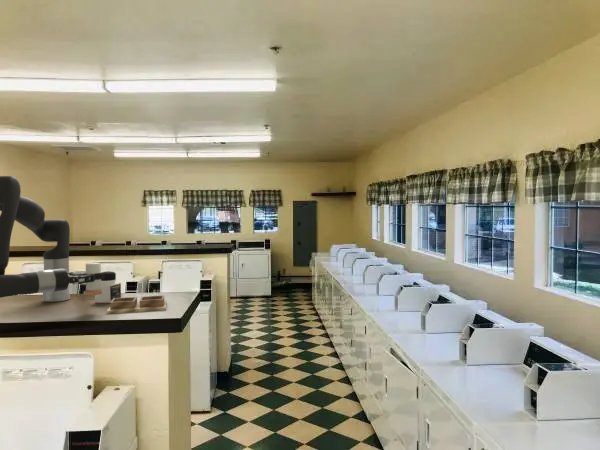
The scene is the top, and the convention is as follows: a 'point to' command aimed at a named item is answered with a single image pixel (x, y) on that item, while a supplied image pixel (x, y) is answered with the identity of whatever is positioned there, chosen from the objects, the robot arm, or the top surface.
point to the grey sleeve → (95, 286)
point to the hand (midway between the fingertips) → (100, 274)
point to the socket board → (137, 304)
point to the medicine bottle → (109, 288)
